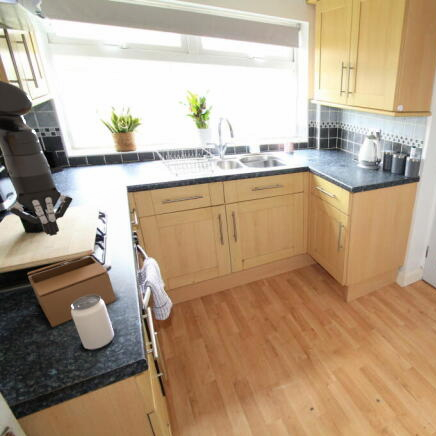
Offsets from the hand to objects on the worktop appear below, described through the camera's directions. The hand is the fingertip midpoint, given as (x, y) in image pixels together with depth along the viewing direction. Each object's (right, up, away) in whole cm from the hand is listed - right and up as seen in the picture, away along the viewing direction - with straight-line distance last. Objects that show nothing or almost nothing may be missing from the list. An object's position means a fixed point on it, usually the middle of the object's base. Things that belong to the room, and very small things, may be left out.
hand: (52, 234), depth 85 cm
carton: (+1, -20, +8) cm, 21 cm away
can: (+16, -27, -5) cm, 32 cm away
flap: (-2, -9, +5) cm, 10 cm away
